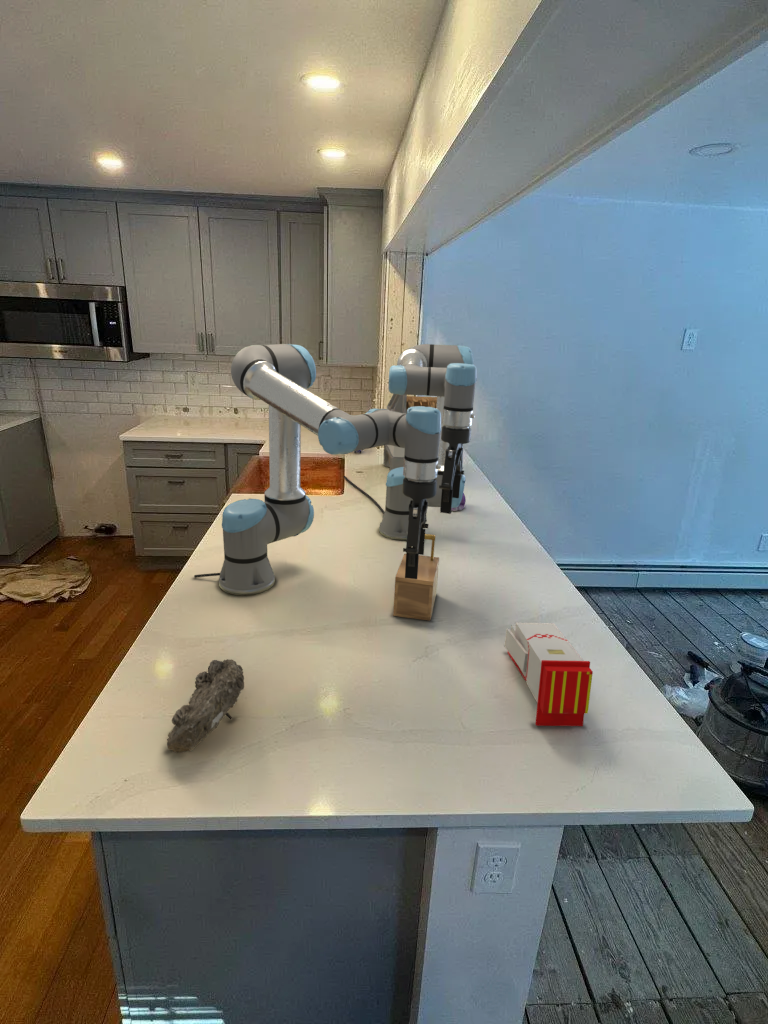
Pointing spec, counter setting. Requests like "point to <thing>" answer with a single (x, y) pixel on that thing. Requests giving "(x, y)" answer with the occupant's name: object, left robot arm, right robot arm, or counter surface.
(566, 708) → the toy
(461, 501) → the figurine
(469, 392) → the right robot arm
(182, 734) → the fossil
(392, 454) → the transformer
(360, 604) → the counter surface
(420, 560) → the lid
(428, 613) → the chest
